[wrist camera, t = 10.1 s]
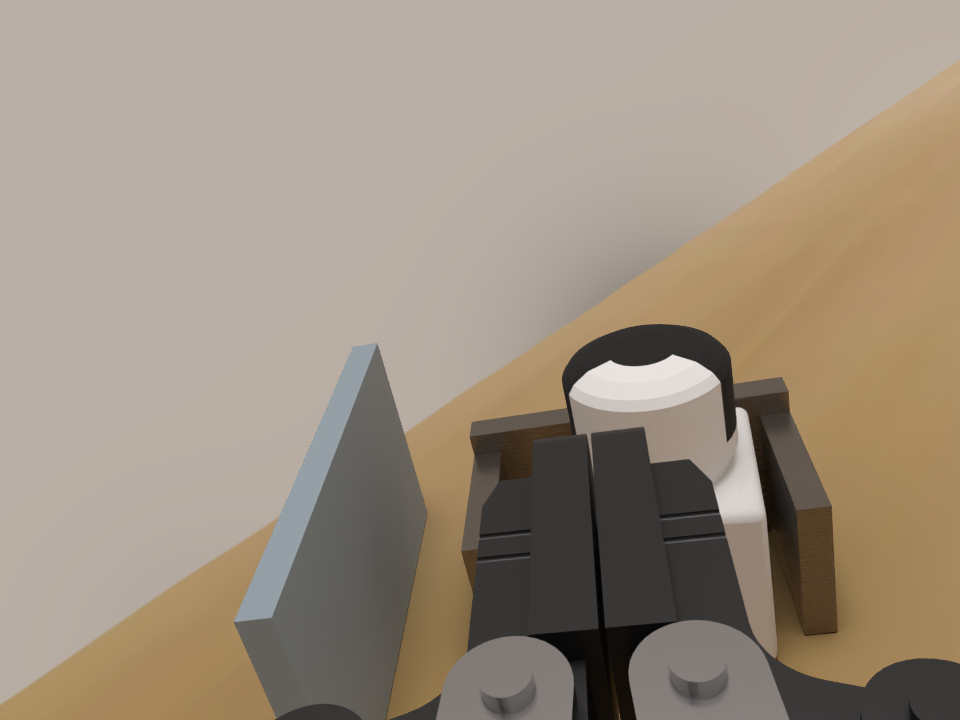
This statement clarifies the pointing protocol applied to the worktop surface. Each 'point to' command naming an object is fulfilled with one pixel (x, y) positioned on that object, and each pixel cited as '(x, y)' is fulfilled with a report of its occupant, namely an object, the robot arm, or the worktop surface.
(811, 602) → the keeper
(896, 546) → the worktop surface
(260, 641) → the door board
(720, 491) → the medicine bottle
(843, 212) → the worktop surface
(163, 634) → the worktop surface
